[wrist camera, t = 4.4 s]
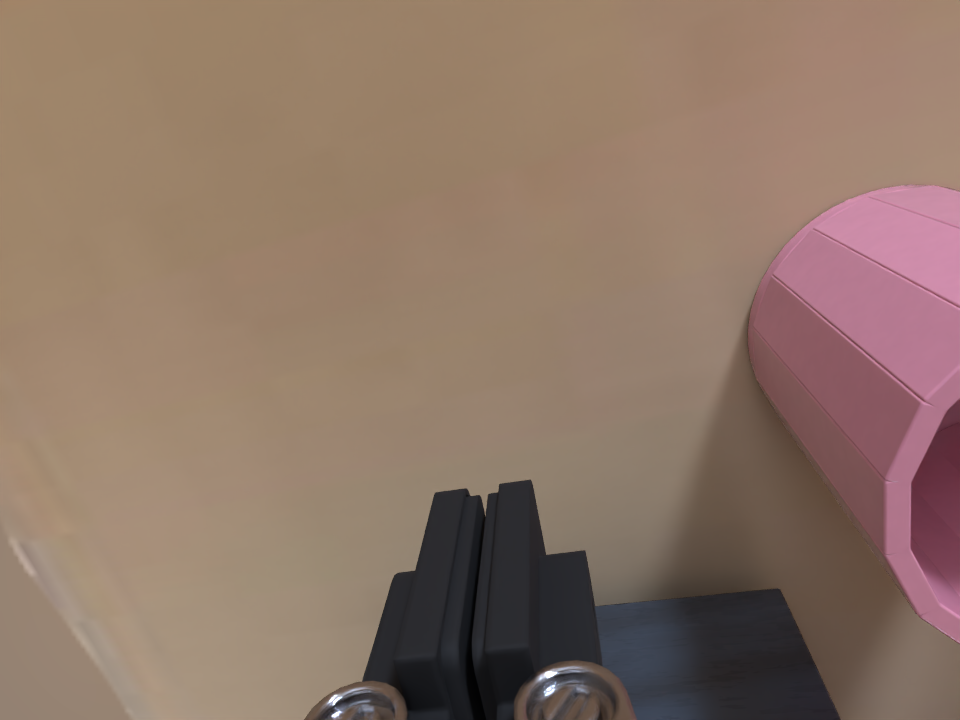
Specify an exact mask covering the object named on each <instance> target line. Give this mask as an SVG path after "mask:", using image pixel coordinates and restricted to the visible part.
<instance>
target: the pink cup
mask: <svg viewBox="0 0 960 720" xmlns="http://www.w3.org/2000/svg"><path fill="white" fill-rule="evenodd" d="M748 349H749V355H750V362H751V365H752V368H753V372H754V375H755V377H756V379H757V382H758V384H759V386H760V388H761V390H762V391H763V393H764V394H765V396H766V397H767V399H768V400H769V402H770V403H771V405H772V407H773V409H774V410H775V412H776V414H777V416H778V417H779V419H780V420H781V422H782V423H783V425H784V426H785V427H786V429H787V430H788V432H789V433H790V435H791V436H792V437H793V439H794V440H795V442H796V443H797V445H798V446H799V447H800V449H801V450H802V452H803V453H804V455H805V456H806V457H807V459H808V460H809V462H810V463H811V465H812V466H813V467H814V469H815V470H816V472H817V473H818V475H819V476H820V477H821V479H822V480H823V482H824V483H825V485H826V486H827V487H828V489H829V490H830V492H831V493H832V495H833V496H834V497H835V499H836V500H837V502H838V503H839V505H840V506H841V507H842V509H843V510H844V512H845V513H846V515H847V516H848V517H849V519H850V520H851V522H852V523H853V524H854V526H855V527H856V529H857V530H858V532H859V533H860V534H861V536H862V537H863V539H864V540H865V542H866V543H867V544H868V546H869V547H870V549H871V550H872V552H873V553H874V554H875V556H876V557H877V559H878V560H879V562H880V563H881V564H882V566H883V567H884V569H885V570H886V572H887V573H888V574H889V576H890V577H891V579H892V580H893V582H894V583H895V584H896V586H897V587H898V589H899V590H900V592H901V593H902V594H903V596H904V597H905V599H906V600H907V602H908V603H909V604H910V606H911V607H912V609H913V610H914V611H915V613H916V614H917V615H918V616H919V617H920V618H921V619H923V620H924V621H926V622H927V623H929V624H930V625H932V626H933V627H935V628H936V629H938V630H939V631H941V632H942V633H944V634H945V635H947V636H948V637H950V638H951V639H953V640H954V641H955V642H957V643H958V644H960V191H959V190H955V189H951V188H945V187H940V186H932V185H904V186H895V187H888V188H884V189H879V190H875V191H871V192H868V193H865V194H862V195H859V196H856V197H854V198H851V199H849V200H847V201H845V202H843V203H841V204H838V205H836V206H834V207H832V208H831V209H829V210H827V211H826V212H824V213H823V214H821V215H820V216H818V217H817V218H815V219H814V220H812V221H811V222H810V223H809V224H807V225H806V226H805V227H804V228H803V229H801V230H800V231H799V232H798V233H797V234H796V235H795V236H794V237H793V238H792V239H791V240H790V241H789V242H788V243H787V244H786V245H785V246H784V247H783V249H782V250H781V251H780V252H779V254H778V255H777V256H776V258H775V259H774V260H773V262H772V263H771V265H770V267H769V268H768V270H767V272H766V273H765V275H764V277H763V278H762V281H761V283H760V285H759V288H758V290H757V292H756V295H755V298H754V301H753V305H752V308H751V312H750V319H749V325H748Z"/></svg>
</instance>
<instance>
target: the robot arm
mask: <svg viewBox="0 0 960 720" xmlns="http://www.w3.org/2000/svg"><path fill="white" fill-rule="evenodd" d="M304 720H637V718H636V715H635V713H634V710H633V707H632V704H631V702H630V699H629V696H628V693H627V691H626V689H625V687H624V686H623V684H622V682H621V680H620V679H619V678H618V677H617V676H616V675H615V674H613V673H612V672H611V671H610V670H609V669H607V668H605V667H603V664H602V655H601V647H600V639H599V632H598V625H597V618H596V611H595V604H594V598H593V592H592V586H591V580H590V574H589V568H588V562H587V557H586V552H585V550H584V551H576V552H568V553H559V554H551V555H546V552H545V547H544V541H543V536H542V531H541V526H540V520H539V515H538V510H537V505H536V499H535V494H534V489H533V485H532V481H531V480H525V481H518V482H510V483H503V484H499V491H498V493H491V494H488V500H487V509H486V517H485V512H484V508H483V503H482V499H481V497H480V495H476V496H470V494H469V492H468V490H467V488H466V489H458V490H451V491H443V492H436V493H435V495H434V498H433V502H432V506H431V510H430V514H429V518H428V522H427V526H426V530H425V534H424V538H423V542H422V546H421V550H420V554H419V558H418V562H417V566H416V570H415V571H410V572H402V573H397V574H396V575H394V578H393V580H392V583H391V586H390V590H389V593H388V597H387V600H386V604H385V607H384V610H383V614H382V617H381V621H380V624H379V628H378V631H377V634H376V638H375V641H374V645H373V648H372V652H371V655H370V659H369V662H368V665H367V669H366V672H365V676H364V679H363V682H356V683H353V684H350V685H347V686H344V687H341V688H339V689H338V690H336V691H334V692H332V693H331V694H329V695H327V696H326V697H324V698H323V699H322V700H321V701H320V702H319V703H318V704H317V705H315V706H314V707H313V708H312V710H311V711H310V712H309V714H308V715H307V717H306V718H305V719H304Z"/></svg>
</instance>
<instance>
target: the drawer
mask: <svg viewBox="0 0 960 720" xmlns="http://www.w3.org/2000/svg"><path fill="white" fill-rule="evenodd" d="M595 611H596V618H597V625H598V632H599V639H600V647H601V655H602V664H603V667H605V668H607V669H609V670H610V671H611V672H612V673H613V674H615V675H616V676H617V677H618V678H619V679H620V680H621V682H622V684H623V686H624V687H625V689H626V691H627V693H628V696H629V699H630V702H631V704H632V707H633V710H634V713H635V715H636V718H637V720H841V719H840V717H839V714H838V712H837V710H836V708H835V706H834V704H833V702H832V699H831V697H830V695H829V693H828V691H827V689H826V687H825V684H824V682H823V680H822V678H821V676H820V674H819V671H818V669H817V667H816V665H815V663H814V661H813V659H812V656H811V654H810V652H809V650H808V648H807V646H806V644H805V641H804V639H803V637H802V635H801V633H800V631H799V629H798V626H797V624H796V622H795V620H794V618H793V616H792V613H791V611H790V609H789V607H788V605H787V603H786V601H785V598H784V596H783V594H782V592H781V590H780V589H778V588H777V589H767V590H757V591H746V592H736V593H726V594H716V595H706V596H695V597H685V598H675V599H665V600H655V601H645V602H634V603H624V604H614V605H604V606H595ZM373 645H374V644H373ZM372 648H373V647H372ZM371 652H372V651H371ZM370 655H371V654H370ZM369 659H370V657H369ZM368 662H369V660H368ZM367 665H368V664H367ZM366 669H367V667H366ZM365 672H366V670H365ZM364 676H365V673H364ZM363 679H364V677H363ZM362 682H363V680H362Z"/></svg>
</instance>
